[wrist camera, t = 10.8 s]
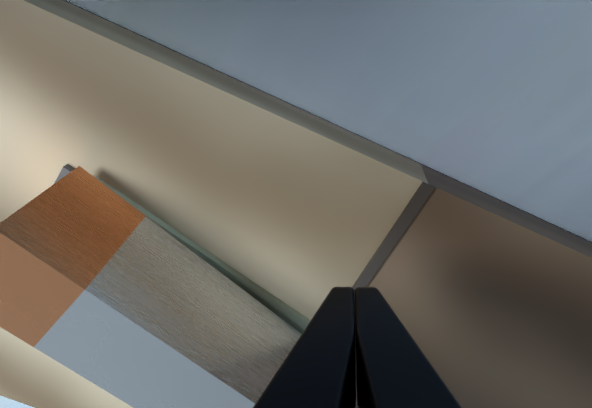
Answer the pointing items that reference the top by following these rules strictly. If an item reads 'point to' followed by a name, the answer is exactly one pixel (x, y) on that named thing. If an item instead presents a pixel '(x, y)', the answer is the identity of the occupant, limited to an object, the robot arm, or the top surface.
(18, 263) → the swing bar
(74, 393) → the door-edge board
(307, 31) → the top surface
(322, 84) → the top surface
